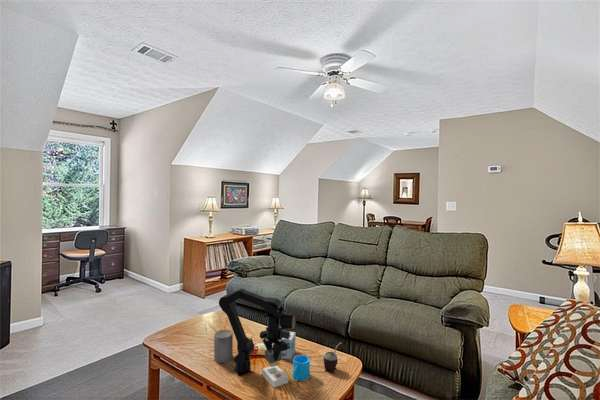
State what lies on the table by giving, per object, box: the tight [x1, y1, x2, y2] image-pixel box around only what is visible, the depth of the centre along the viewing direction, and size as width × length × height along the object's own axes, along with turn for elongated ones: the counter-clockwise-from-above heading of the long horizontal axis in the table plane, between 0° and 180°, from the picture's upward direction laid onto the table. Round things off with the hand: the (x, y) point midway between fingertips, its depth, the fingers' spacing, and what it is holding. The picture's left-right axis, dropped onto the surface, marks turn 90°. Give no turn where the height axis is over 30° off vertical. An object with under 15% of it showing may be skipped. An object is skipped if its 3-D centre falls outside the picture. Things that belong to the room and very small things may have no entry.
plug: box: [264, 349, 283, 367], centre depth 153 cm, size 6×6×7 cm
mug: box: [292, 354, 311, 381], centre depth 152 cm, size 12×8×8 cm
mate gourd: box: [323, 342, 343, 374], centre depth 160 cm, size 8×8×15 cm
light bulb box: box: [279, 331, 297, 360], centre depth 175 cm, size 11×7×11 cm, turn 168°
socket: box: [261, 365, 289, 389], centre depth 151 cm, size 8×12×4 cm, turn 33°
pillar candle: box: [213, 329, 234, 364], centre depth 169 cm, size 10×10×15 cm
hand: (273, 357), depth 153 cm, fingers closed on plug, 6 cm apart
